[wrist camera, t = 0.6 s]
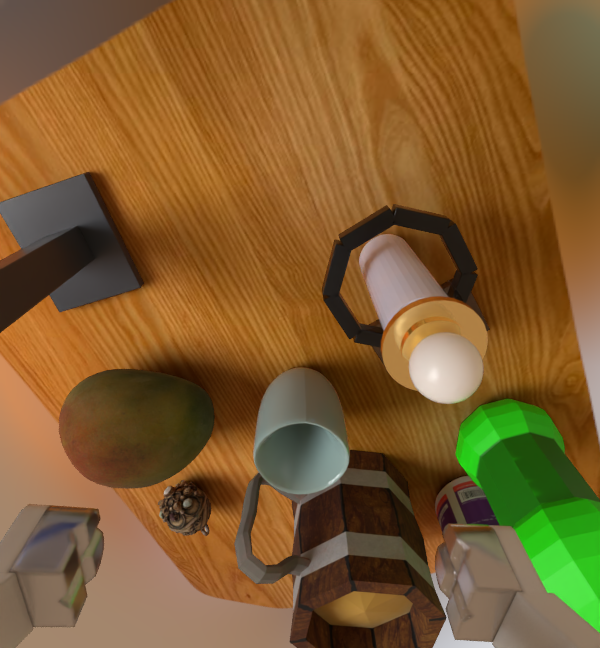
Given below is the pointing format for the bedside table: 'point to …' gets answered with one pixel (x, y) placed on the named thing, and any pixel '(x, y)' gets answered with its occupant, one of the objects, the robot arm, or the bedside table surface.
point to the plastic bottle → (537, 497)
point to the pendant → (185, 509)
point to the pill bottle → (463, 504)
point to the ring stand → (370, 229)
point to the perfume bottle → (422, 324)
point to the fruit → (134, 426)
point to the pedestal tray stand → (62, 250)
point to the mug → (352, 562)
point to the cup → (301, 433)
